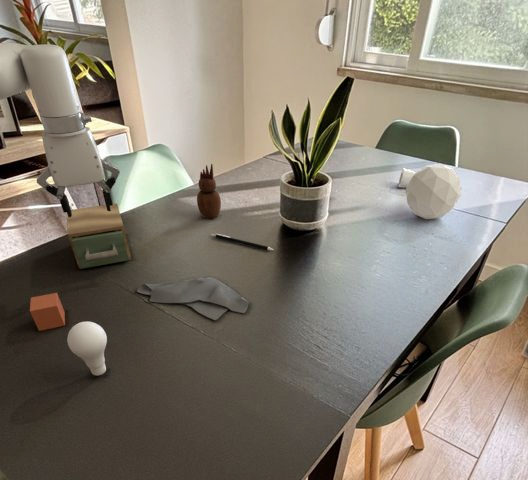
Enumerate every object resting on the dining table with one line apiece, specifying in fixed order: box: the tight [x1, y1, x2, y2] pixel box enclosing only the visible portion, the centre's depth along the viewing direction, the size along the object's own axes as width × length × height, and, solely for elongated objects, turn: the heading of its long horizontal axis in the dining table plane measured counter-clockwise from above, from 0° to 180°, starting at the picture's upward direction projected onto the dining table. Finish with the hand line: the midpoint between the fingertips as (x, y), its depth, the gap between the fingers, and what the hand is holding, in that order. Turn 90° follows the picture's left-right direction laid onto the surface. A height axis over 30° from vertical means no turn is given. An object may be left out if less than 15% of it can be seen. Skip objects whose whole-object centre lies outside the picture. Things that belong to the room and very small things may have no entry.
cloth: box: [136, 276, 250, 321], centre depth 94 cm, size 26×14×2 cm, turn 63°
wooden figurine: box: [196, 163, 222, 219], centre depth 122 cm, size 7×6×15 cm
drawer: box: [72, 230, 130, 270], centre depth 105 cm, size 18×11×7 cm, turn 20°
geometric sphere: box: [405, 162, 462, 220], centre depth 120 cm, size 14×15×15 cm
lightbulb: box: [66, 321, 108, 377], centre depth 73 cm, size 6×6×11 cm
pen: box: [211, 233, 275, 251], centre depth 112 cm, size 1×19×1 cm, turn 62°
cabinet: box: [66, 203, 133, 270], centre depth 108 cm, size 15×13×9 cm
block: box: [29, 292, 66, 332], centre depth 87 cm, size 5×5×5 cm
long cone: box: [397, 168, 418, 188], centre depth 139 cm, size 6×6×19 cm
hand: (89, 211), depth 94 cm, fingers open, 7 cm apart
